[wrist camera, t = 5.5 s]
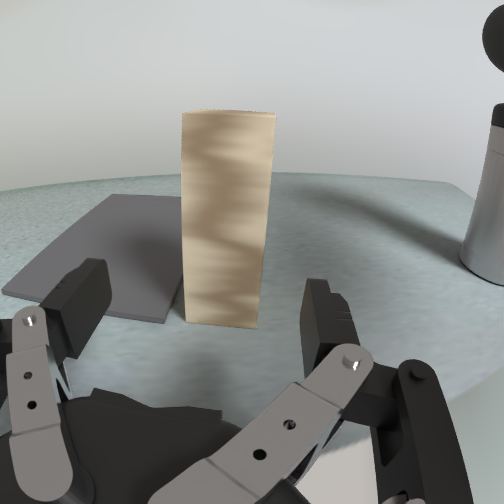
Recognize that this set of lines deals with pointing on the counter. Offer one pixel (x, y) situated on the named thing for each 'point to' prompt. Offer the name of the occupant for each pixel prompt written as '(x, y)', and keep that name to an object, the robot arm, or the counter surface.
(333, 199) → the counter surface
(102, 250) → the mat
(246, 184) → the wooden block
